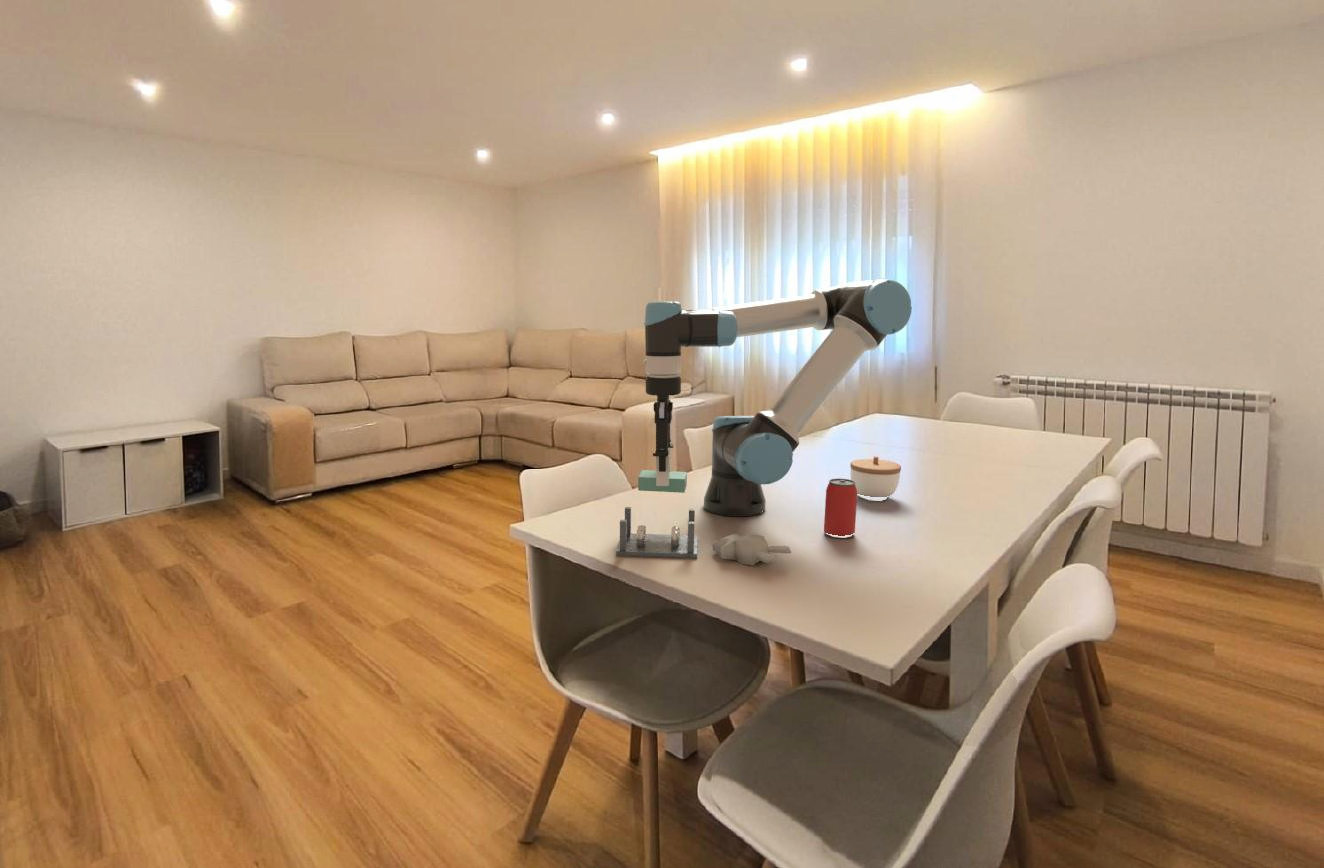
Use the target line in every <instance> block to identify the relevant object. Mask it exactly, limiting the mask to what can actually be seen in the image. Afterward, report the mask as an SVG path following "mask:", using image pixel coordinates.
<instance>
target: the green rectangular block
mask: <svg viewBox="0 0 1324 868" xmlns="http://www.w3.org/2000/svg"><path fill="white" fill-rule="evenodd" d="M637 480H638V481H637V486H638V487H637V491H643V492H658V493H659V492H660V493H661V492H662V493H663V492H664V493H681V494H685V493H686V489H687V486H688V471H675V470H674V471H671V470H670V471H669V486H656V470H650V469H642V470H641V471H640V473H639V475H638V478H637Z"/></svg>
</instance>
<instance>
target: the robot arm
mask: <svg viewBox="0 0 1324 868" xmlns="http://www.w3.org/2000/svg"><path fill="white" fill-rule="evenodd" d="M912 309H913V308H912V299H911V296H910V293H909V292H908V290H907V289H906V287H905V286H903V284H901V283H900V282H898V281H897V280H893V279H886V278H877V279H874V280H858V281H857V280H856V281H851V282H848V283H843V284H839V285H836V286H835V285H834V286H832V287H828V288H822V289H815V290H813V291H812V292H811V293H810V294H809V295H801V296H795V297H794V296H793V297H786V298H779V299H778V298H777V299H771V300H764V301H763V300H762V301H754V302H746V303H741V304H740V303H739V304H730V305H725V306H717V307H712V308H701V309H695V310H693V309H688V310H687V309H686V310H683V309H682V304H681V302H679V301H651V302H648V303H647V304H646V306H645V317H644V330H645V331H644V336H645V338H644V339H645V359H643V360H642V364H643V365H646V366H645V374H646V375H648V376H646V378H645V393H646V395H649V396H656V401H654V403H653V412H654V424H655V452H654V453H652V457H655V471H656V486H669V471H671V449H673V448H674V443H671V442H672V440H671V424H672V419H673V416H672V415H673V413H672V412H673V408H674V402H673V401H671V399H670V396H677V395H680V394H681V392H682V378H681V377H680V376H679V375H681V374H682V351H681V350H682V348H691V347H692V348H693V347H697V348H698V347H699V348H702V347H703V348H704V347H705V348H706V347H707V348H709V347H712V348H713V347H714V348H715V347H718V348H721V347H730V346H731V347H732V345H734V343H735V342H736V340H737V338H740V337H749V336H755V335H756V336H757V335H765V334H772V333H778V332H779V333H780V332H786V331H792V330H801V329H809V328H813V329H814V330H817V331H823V330H825V331H826V330H831V331H830V332H829V334H828V335H827V337H825V339H824V340H823V341H822V342H821V344H820V345H819V347H818V348H817V349H816V350H815V352H814V353H813V354H812V355H811V357H810V358H808V359H807V361H806V363H805V364H804V365H803V366H802V368H800V370H799V371H798V372H797V374H796V375H795V376H794V378H793V379H792V380H791V381H790V383H788V385H787V386H786V388H785V389H784V390H783V391H782V392H781V393H780V395H779V397H777V399H776V400H775V401H774V403H772V405H771V406H770V408H769V409H767V410H762V411H758V412H757V413H756V414H755V415H724V416H716V417H715V418H714V420H713V423H712V424H713V425H712V429H711V433H712V441H711V442H712V446H711V447H712V448H711V452H712V453H711V454H712V455H711V477H710V480H709V483H708V485H707V488H706V492H705V494H704V497H703V508H704V509H705V510H706V511H708V512H709V513H712V514H714V515H715V514H716V515H719V516H727V517H751V515H752V516H757V515H759V514H758V513H760V514H762V513H763V512H762V511H764V510H765V511H766V497H765V494H764V491H763V487H762V486H763V485H771V484H774V483H776V482H779V481H780V480H782V479H783V478H784V477H785V476H786V475H787V474H788V473H789V471H790V469H791V467H792V464H793V456H794V452H795V450H796V449H797V448H798V447H799V445H800V437H799V435H800V433H801V432H802V430H803V429H804V428H805V426H806V425H807V424H808V423H809V421H810V420H812V418H813V416H815V414H816V413H817V412H818V411H819V409H820V408H821V406H822V405H824V403H825V402H826V400H828V398H829V397H830V396H831V394H832V393H833V392H834V390H835V389H836V388H837V387H838V385H839V384H840V383H841V382H842V381H843V379H844V378H845V377H846V375H847V374H848V373H849V371H850V370H851V369H852V368H853V367H854V366H855V364H856V363H857V362H858V360H860V358H861V357H862V356H863V355H864V353H865V352H866V351H874V350H876V349H877V348H878V347H879V346H880V344H881V343H882V342H883V341H884V339H885V338H886V337H887V335H894V334H896V333H898V332H900V331H902V330H903V329H904V328H905V326H906V325H908V322H909V320H910V319H911V316H912V315H911V314H912ZM765 511H764V512H765ZM761 512H762V513H761ZM756 514H757V515H756Z"/></svg>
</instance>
